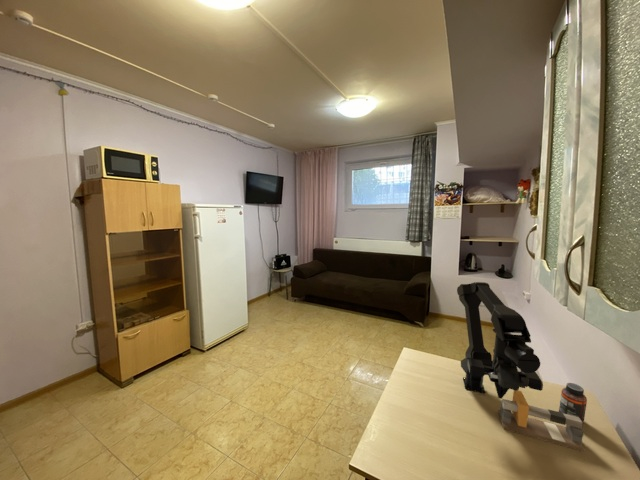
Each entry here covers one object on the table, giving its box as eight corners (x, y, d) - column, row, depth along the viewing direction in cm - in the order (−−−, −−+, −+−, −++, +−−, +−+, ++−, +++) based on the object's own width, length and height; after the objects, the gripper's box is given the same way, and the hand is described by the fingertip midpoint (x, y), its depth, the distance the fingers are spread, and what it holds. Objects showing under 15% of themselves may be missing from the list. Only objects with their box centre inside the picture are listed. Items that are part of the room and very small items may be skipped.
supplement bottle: (578, 414, 86) (583, 383, 85) (587, 428, 81) (593, 395, 79) (555, 408, 89) (559, 378, 87) (562, 421, 83) (567, 389, 82)
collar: (511, 408, 85) (513, 389, 84) (518, 410, 84) (521, 391, 83) (518, 425, 79) (521, 404, 78) (526, 427, 78) (529, 406, 77)
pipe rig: (498, 412, 87) (500, 393, 86) (571, 431, 80) (574, 410, 79) (503, 429, 80) (506, 408, 79) (583, 451, 73) (587, 429, 72)
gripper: (474, 359, 77) (470, 406, 79) (554, 375, 70) (547, 427, 72) (469, 341, 87) (465, 383, 89) (538, 353, 80) (532, 399, 82)
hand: (499, 397), depth 83 cm, fingers closed
